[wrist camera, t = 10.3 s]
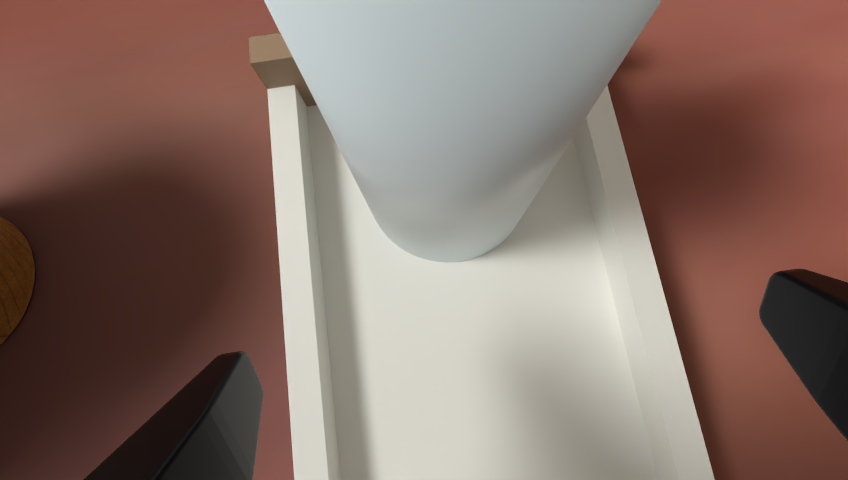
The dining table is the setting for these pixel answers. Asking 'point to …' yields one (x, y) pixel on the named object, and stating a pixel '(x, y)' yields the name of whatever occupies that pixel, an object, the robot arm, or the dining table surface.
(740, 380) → the dining table surface
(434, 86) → the white rounded wedge
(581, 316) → the drawer
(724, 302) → the dining table surface
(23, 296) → the disposable coffee cup
